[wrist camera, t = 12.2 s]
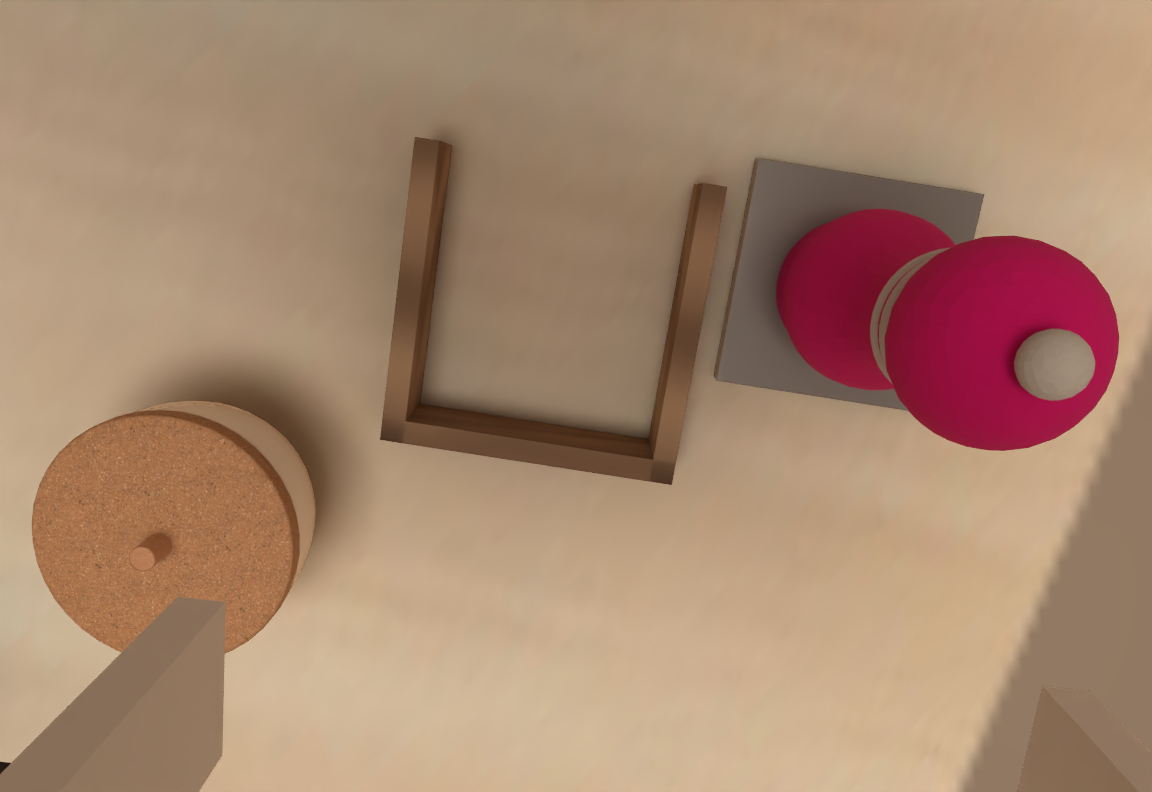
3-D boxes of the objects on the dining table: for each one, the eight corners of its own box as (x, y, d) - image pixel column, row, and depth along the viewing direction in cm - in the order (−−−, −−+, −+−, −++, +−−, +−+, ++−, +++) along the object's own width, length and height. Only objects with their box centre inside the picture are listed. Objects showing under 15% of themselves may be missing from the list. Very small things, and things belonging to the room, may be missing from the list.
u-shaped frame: (429, 141, 41) (415, 137, 38) (716, 188, 42) (726, 187, 38) (396, 420, 44) (380, 439, 41) (665, 462, 44) (671, 484, 41)
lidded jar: (97, 396, 44) (-32, 448, 35) (316, 361, 44) (242, 403, 35) (155, 603, 46) (48, 703, 37) (364, 571, 46) (307, 664, 37)
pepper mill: (773, 202, 41) (941, 206, 21) (937, 212, 41) (1256, 225, 21) (756, 364, 42) (899, 506, 23) (914, 373, 42) (1194, 525, 23)
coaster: (755, 159, 41) (759, 158, 40) (975, 194, 42) (984, 194, 41) (713, 376, 43) (716, 380, 42) (923, 409, 44) (930, 414, 43)
